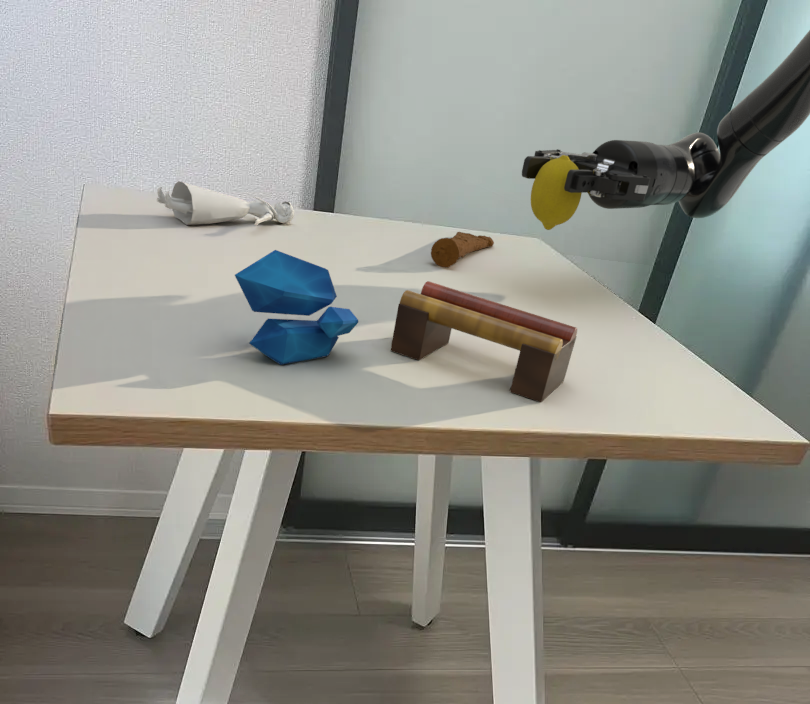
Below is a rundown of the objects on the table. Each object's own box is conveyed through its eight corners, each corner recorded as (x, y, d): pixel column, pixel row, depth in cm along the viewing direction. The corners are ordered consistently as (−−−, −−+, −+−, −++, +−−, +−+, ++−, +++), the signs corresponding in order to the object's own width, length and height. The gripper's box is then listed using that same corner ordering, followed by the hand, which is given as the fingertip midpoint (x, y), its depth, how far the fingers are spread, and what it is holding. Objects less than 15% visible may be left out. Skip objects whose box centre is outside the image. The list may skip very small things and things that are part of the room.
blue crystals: (388, 286, 76) (279, 260, 67) (355, 381, 79) (247, 369, 70) (333, 259, 80) (224, 231, 71) (305, 350, 83) (197, 335, 74)
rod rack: (563, 381, 84) (580, 325, 81) (541, 402, 78) (557, 343, 75) (421, 333, 88) (432, 278, 85) (390, 350, 83) (400, 292, 80)
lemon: (538, 234, 98) (556, 157, 94) (515, 221, 103) (531, 147, 99) (580, 238, 101) (600, 163, 97) (556, 225, 105) (573, 152, 101)
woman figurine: (143, 167, 108) (273, 184, 119) (140, 205, 110) (268, 218, 121) (184, 193, 100) (319, 208, 111) (180, 233, 102) (312, 244, 113)
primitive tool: (457, 235, 127) (463, 210, 125) (494, 245, 126) (500, 219, 125) (426, 264, 111) (432, 236, 109) (468, 275, 110) (475, 247, 108)
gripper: (591, 128, 110) (504, 122, 99) (692, 156, 102) (610, 152, 91) (575, 191, 114) (490, 193, 103) (671, 223, 106) (590, 228, 95)
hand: (547, 174), depth 97 cm, fingers closed on lemon, 5 cm apart
